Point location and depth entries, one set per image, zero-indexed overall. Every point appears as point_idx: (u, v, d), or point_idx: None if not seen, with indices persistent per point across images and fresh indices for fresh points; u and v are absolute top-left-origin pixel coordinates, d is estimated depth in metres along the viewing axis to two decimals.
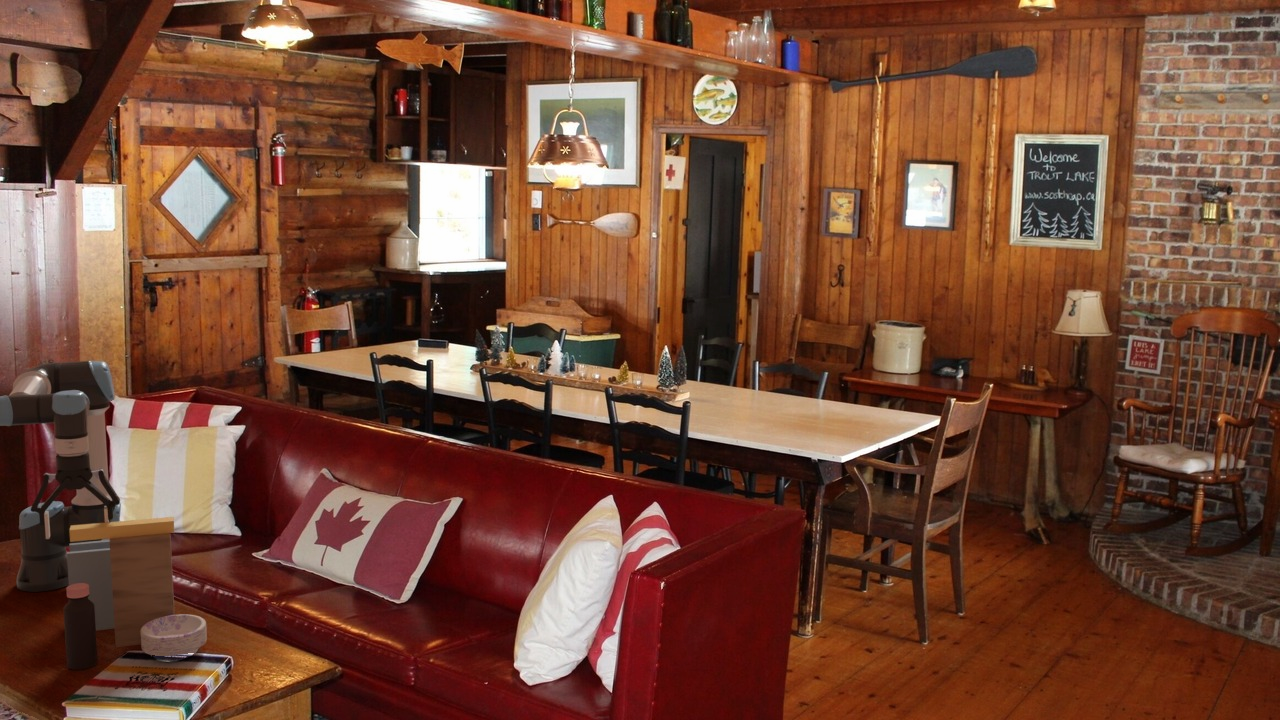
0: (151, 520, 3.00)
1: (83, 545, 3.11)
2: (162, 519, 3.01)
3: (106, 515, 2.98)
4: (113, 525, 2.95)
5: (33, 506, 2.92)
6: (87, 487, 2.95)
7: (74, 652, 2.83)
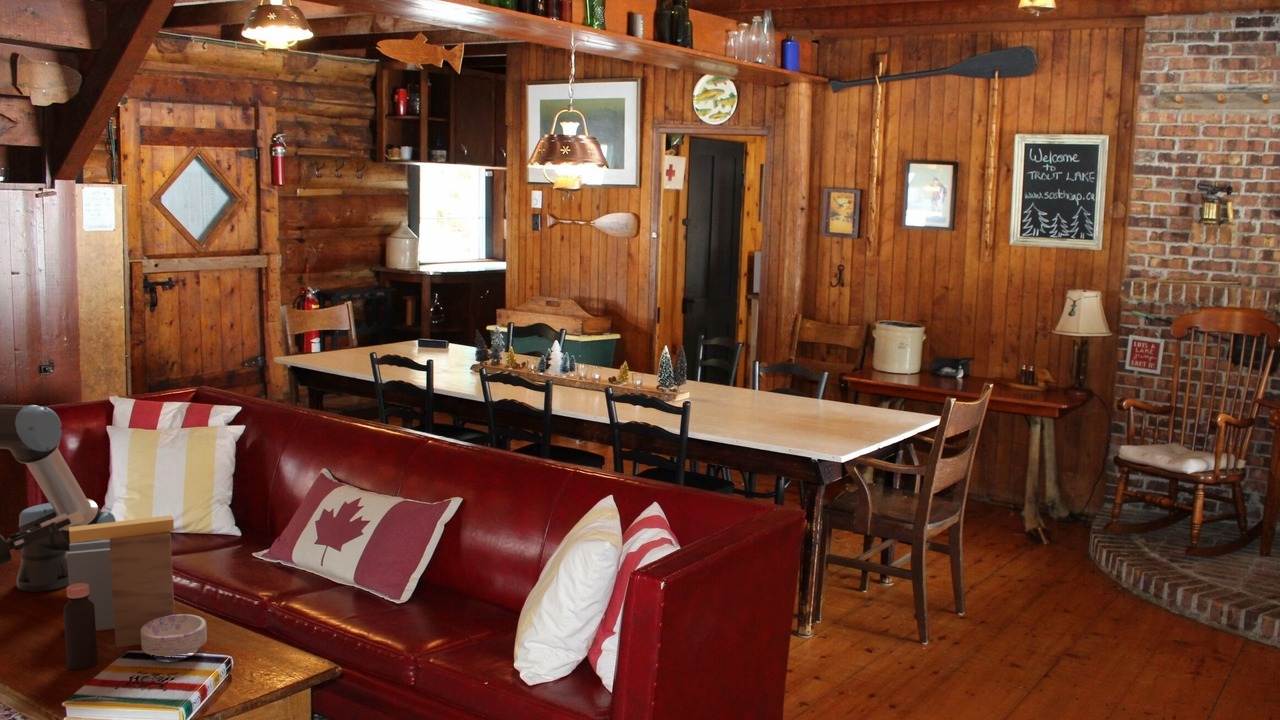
0: (150, 519, 3.01)
1: (83, 545, 3.11)
2: (161, 518, 3.02)
3: (65, 528, 2.95)
4: (113, 526, 2.95)
5: None
6: (30, 543, 2.93)
7: (74, 652, 2.83)
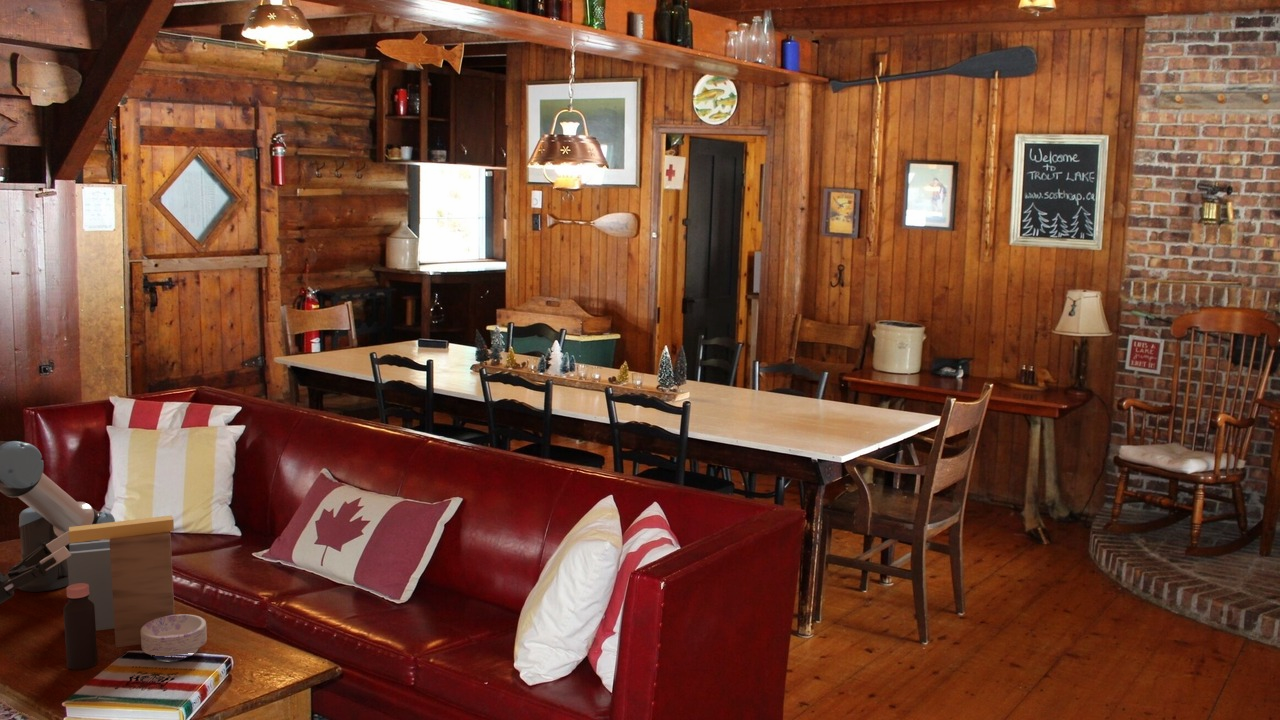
0: (150, 519, 3.01)
1: (83, 545, 3.11)
2: (161, 518, 3.02)
3: None
4: (113, 526, 2.95)
5: None
6: None
7: (74, 652, 2.83)
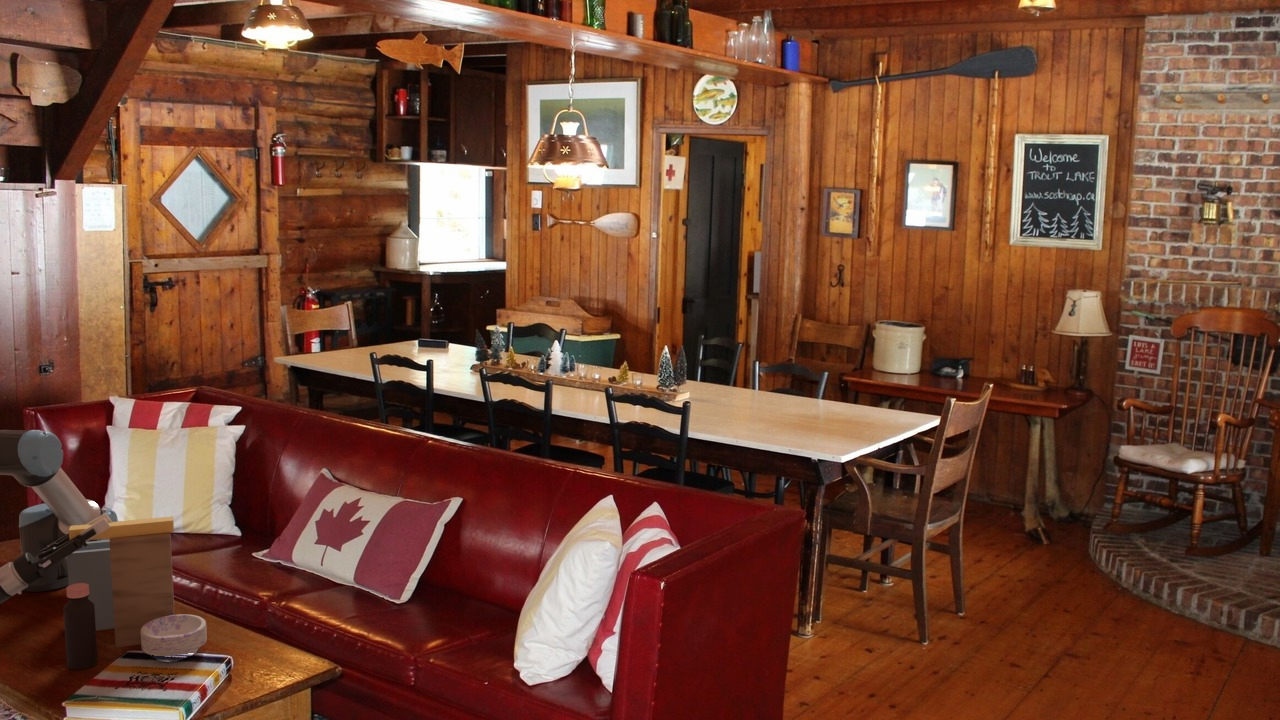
0: (150, 520, 3.00)
1: (83, 545, 3.11)
2: (161, 519, 3.01)
3: None
4: (113, 525, 2.95)
5: None
6: None
7: (74, 652, 2.83)
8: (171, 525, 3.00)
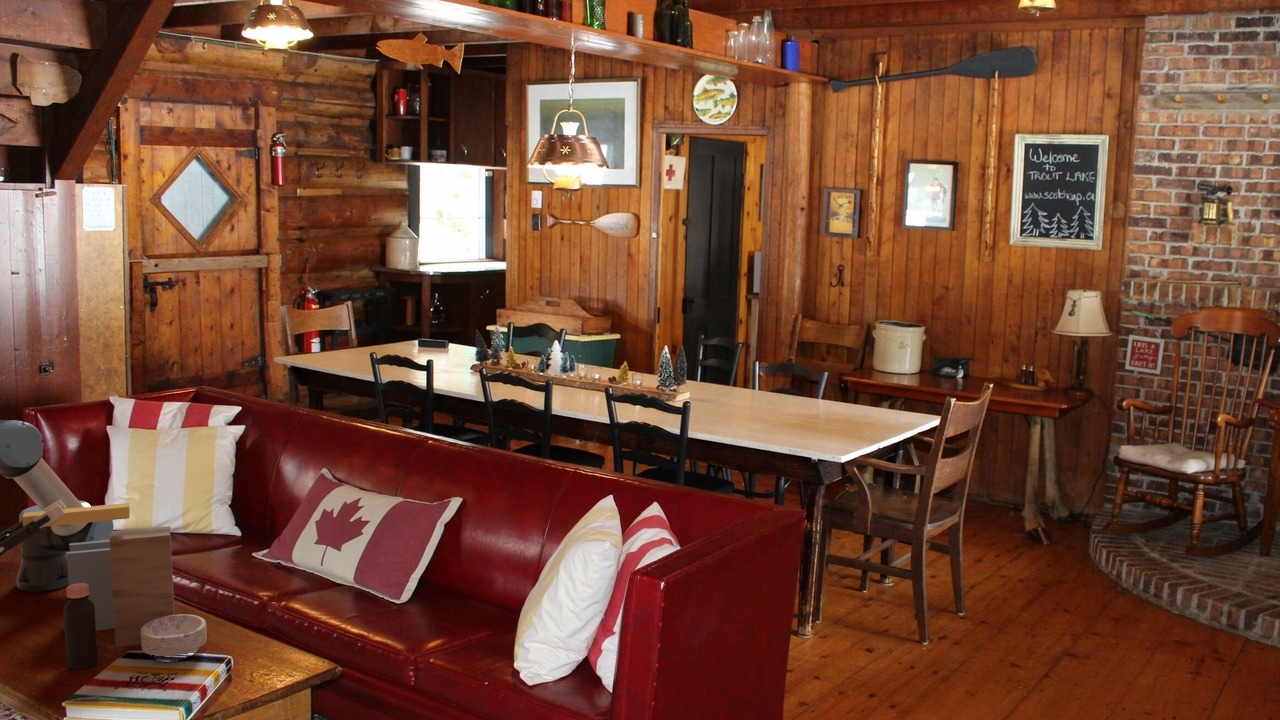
0: (106, 506, 2.98)
1: (83, 545, 3.11)
2: (117, 505, 2.99)
3: None
4: (67, 512, 2.93)
5: None
6: None
7: (74, 652, 2.83)
8: (127, 511, 2.98)
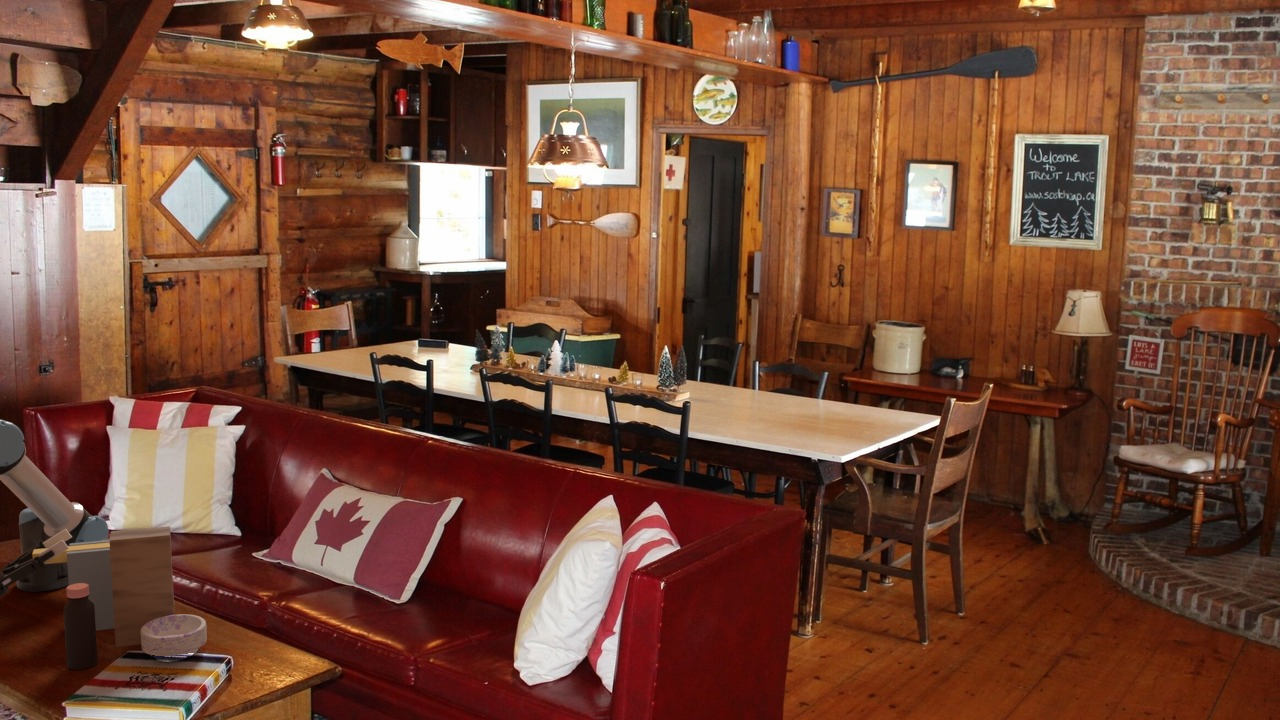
0: None
1: None
2: None
3: None
4: (75, 549, 3.06)
5: None
6: None
7: (74, 652, 2.83)
8: None
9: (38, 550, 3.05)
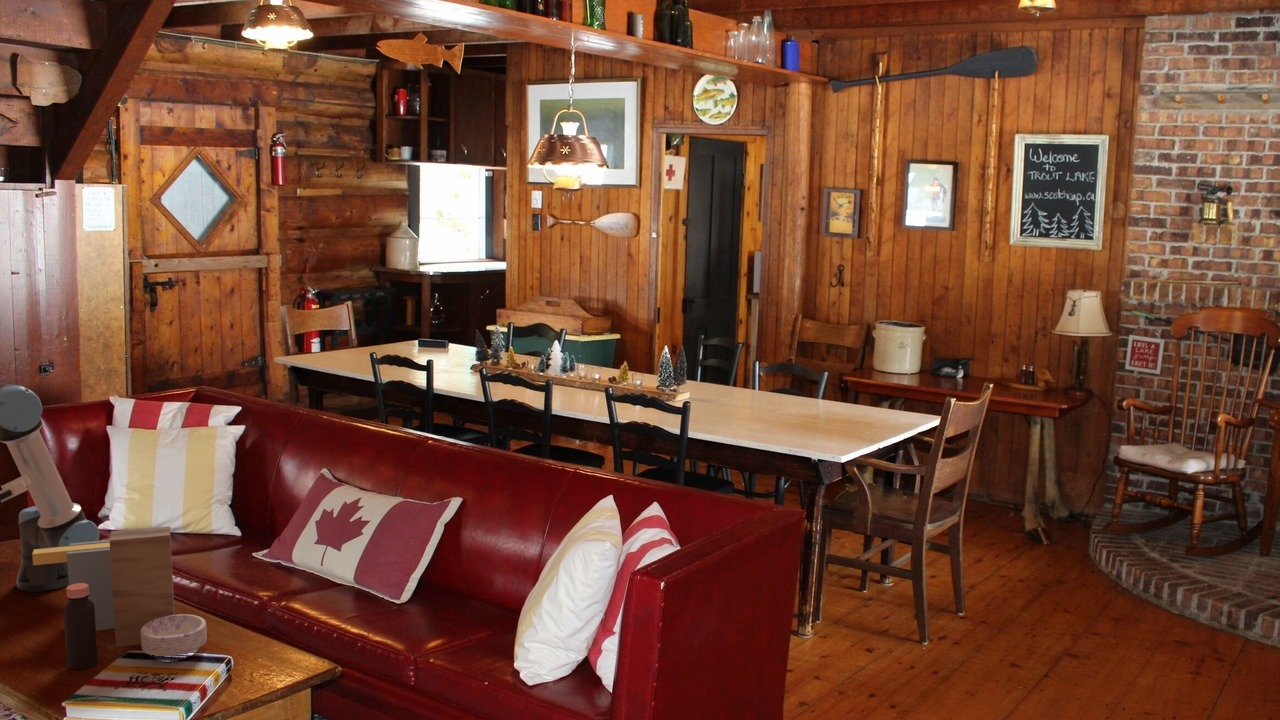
0: None
1: None
2: None
3: None
4: (75, 549, 3.06)
5: None
6: None
7: (74, 652, 2.83)
8: None
9: (38, 550, 3.05)
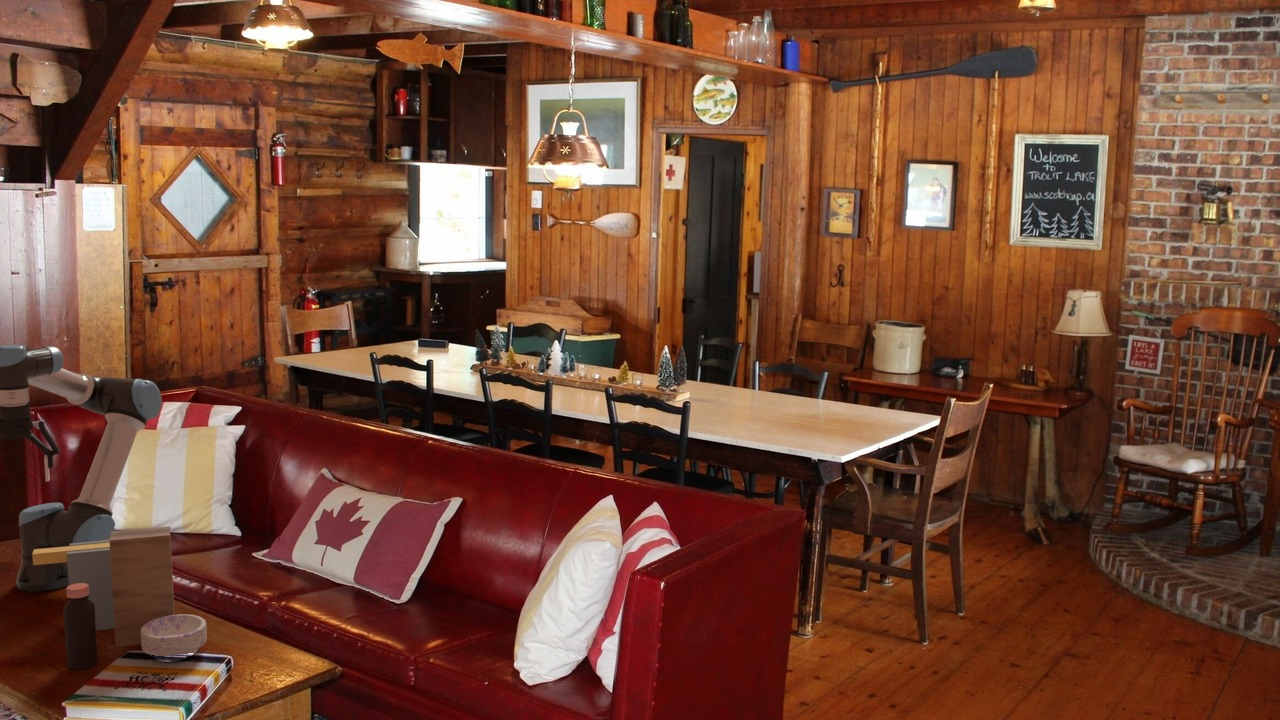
0: None
1: None
2: None
3: (46, 464, 3.13)
4: (75, 549, 3.06)
5: None
6: (27, 436, 3.10)
7: (74, 652, 2.83)
8: None
9: (38, 550, 3.05)
